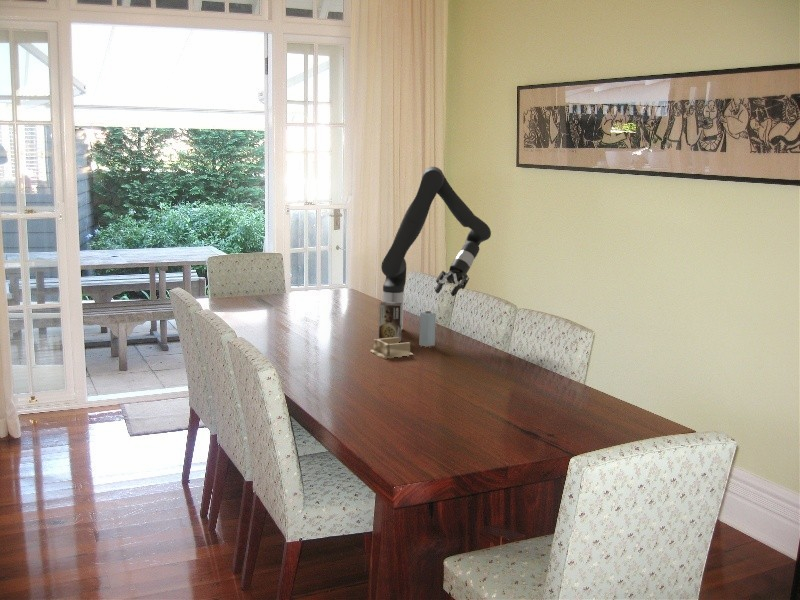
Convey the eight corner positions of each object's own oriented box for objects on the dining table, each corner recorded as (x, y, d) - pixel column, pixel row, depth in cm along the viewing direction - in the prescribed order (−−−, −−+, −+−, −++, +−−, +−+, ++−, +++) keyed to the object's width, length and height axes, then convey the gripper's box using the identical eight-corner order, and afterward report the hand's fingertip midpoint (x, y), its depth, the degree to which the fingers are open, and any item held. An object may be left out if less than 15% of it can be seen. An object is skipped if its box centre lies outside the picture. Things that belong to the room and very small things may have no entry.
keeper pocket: (370, 351, 352) (370, 339, 351) (398, 348, 358) (399, 336, 357) (383, 359, 342) (384, 345, 341) (413, 355, 348) (413, 342, 347)
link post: (419, 345, 364) (420, 311, 361) (426, 344, 368) (427, 309, 365) (427, 347, 361) (428, 313, 359) (434, 346, 365) (435, 311, 362)
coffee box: (401, 339, 374) (402, 302, 371) (399, 343, 368) (401, 305, 364) (380, 338, 375) (381, 301, 372) (378, 342, 368) (379, 304, 365)
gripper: (445, 256, 377) (427, 286, 371) (471, 259, 367) (453, 290, 361) (453, 267, 381) (435, 296, 375) (479, 270, 372) (461, 301, 366)
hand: (444, 293), depth 368 cm, fingers open, 8 cm apart
